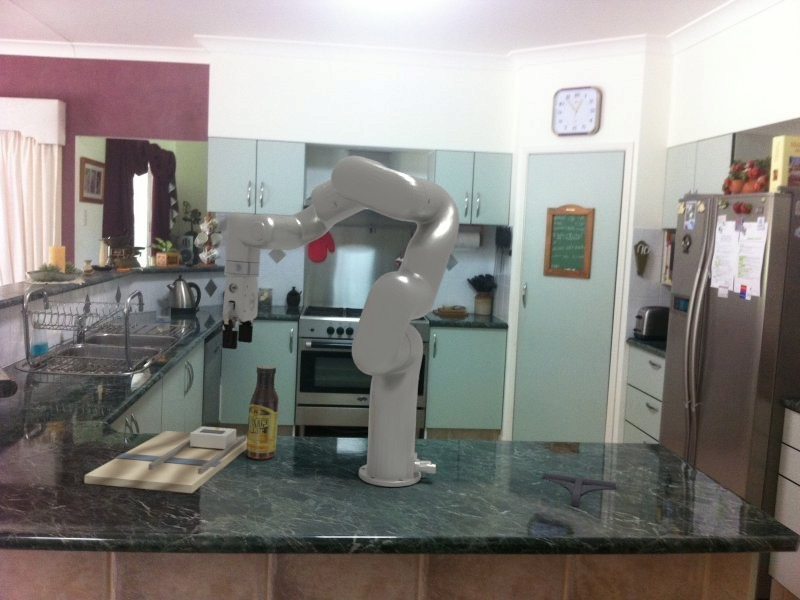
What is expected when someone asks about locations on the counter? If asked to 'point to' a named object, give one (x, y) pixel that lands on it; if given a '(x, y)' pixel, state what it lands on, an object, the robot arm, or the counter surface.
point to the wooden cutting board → (166, 464)
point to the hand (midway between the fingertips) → (237, 345)
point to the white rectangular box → (212, 437)
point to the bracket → (579, 485)
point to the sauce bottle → (263, 416)
